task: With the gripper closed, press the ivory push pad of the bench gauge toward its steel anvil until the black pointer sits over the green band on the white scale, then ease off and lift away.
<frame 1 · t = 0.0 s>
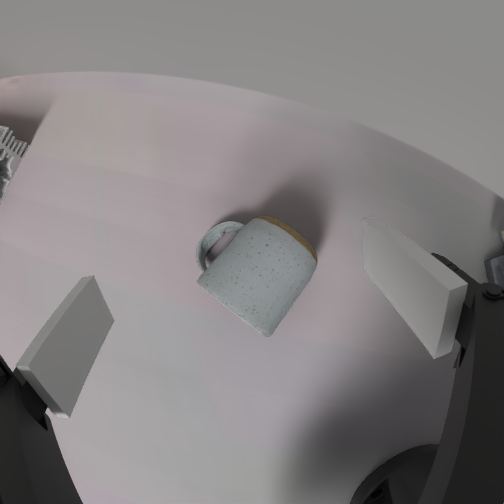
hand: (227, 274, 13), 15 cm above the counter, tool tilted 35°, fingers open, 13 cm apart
ceramic mug: (248, 274, 29), on the counter
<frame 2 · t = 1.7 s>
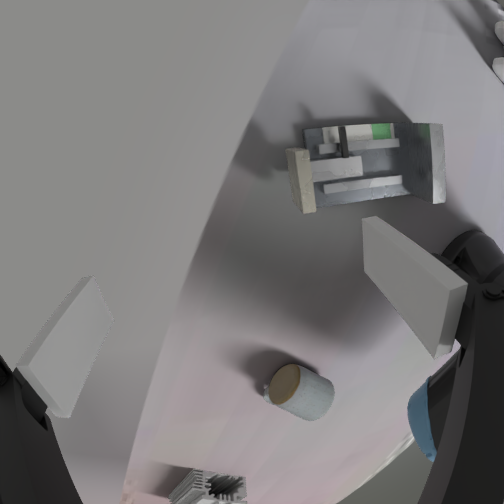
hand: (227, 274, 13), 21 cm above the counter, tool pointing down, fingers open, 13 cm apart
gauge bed: (366, 161, 32), on the counter
ceramic mug: (291, 379, 45), on the counter
aluminum extrusion profile: (202, 487, 64), on the counter
plunger: (331, 163, 27), point 5 cm above the counter, slide at 0.0 cm
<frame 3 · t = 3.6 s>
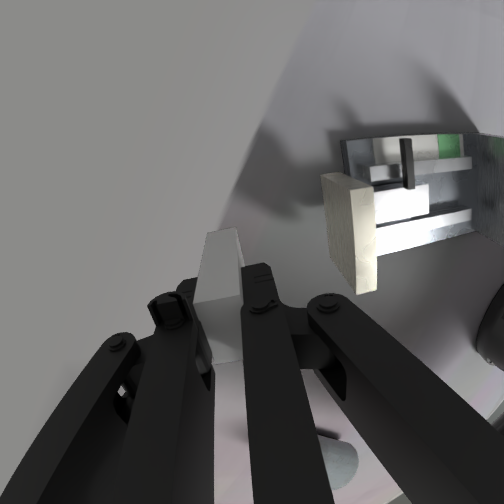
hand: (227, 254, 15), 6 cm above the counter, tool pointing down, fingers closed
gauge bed: (426, 187, 21), on the counter
ceramic mug: (308, 444, 34), on the counter
plunger: (393, 201, 16), point 5 cm above the counter, slide at 0.0 cm
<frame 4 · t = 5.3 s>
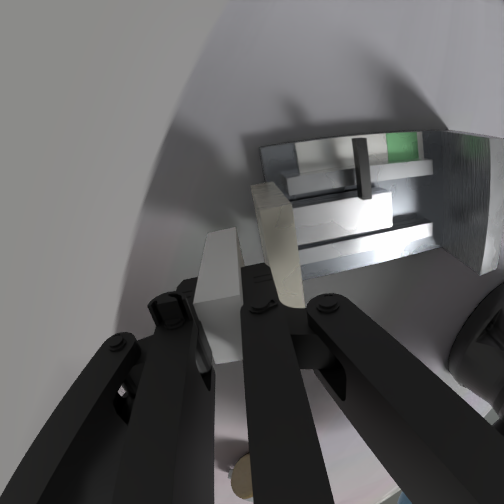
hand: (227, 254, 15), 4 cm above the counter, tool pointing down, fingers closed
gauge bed: (375, 196, 19), on the counter
ceramic mug: (262, 460, 33), on the counter
plunger: (339, 215, 14), point 5 cm above the counter, slide at 1.7 cm, touching gripper
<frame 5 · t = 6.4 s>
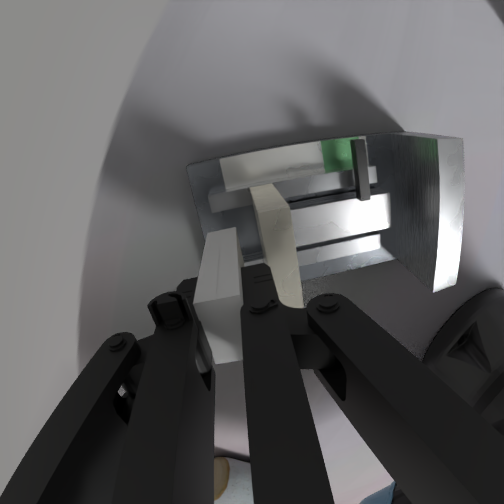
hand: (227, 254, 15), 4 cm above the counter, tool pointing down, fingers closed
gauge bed: (316, 208, 19), on the counter
ceramic mug: (231, 465, 33), on the counter
plunger: (338, 216, 15), point 5 cm above the counter, slide at 6.0 cm, touching gripper
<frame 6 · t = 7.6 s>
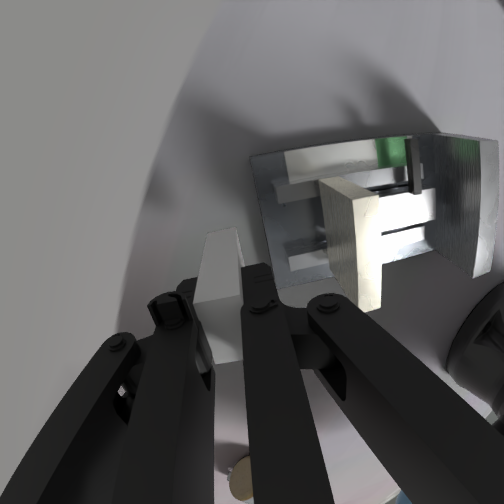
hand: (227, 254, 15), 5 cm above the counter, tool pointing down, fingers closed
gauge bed: (366, 202, 19), on the counter
ceramic mug: (260, 463, 33), on the counter
plunger: (399, 208, 15), point 5 cm above the counter, slide at 6.1 cm
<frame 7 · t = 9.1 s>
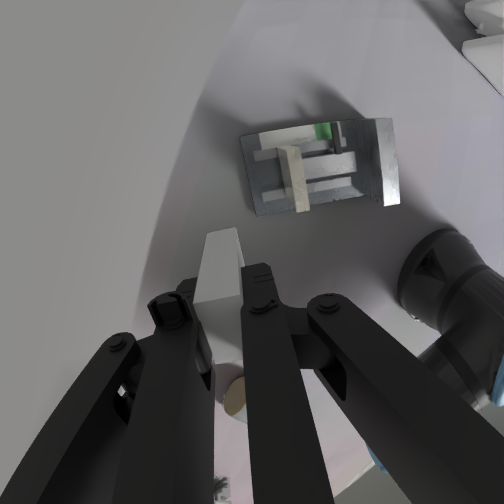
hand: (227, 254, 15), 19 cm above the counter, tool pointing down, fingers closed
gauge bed: (312, 163, 32), on the counter
cable organizer: (485, 53, 25), on the counter
ceramic mug: (249, 390, 46), on the counter
aluminum extrusion profile: (187, 486, 65), on the counter
plunger: (324, 160, 27), point 5 cm above the counter, slide at 6.1 cm
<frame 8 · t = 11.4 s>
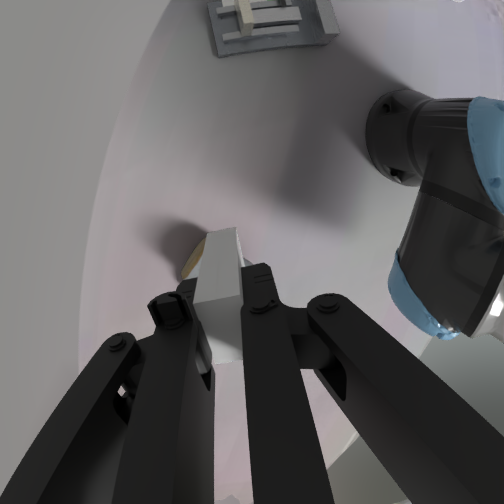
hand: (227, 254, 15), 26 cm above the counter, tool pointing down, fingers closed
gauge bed: (267, 22, 31), on the counter
ceramic mug: (214, 267, 45), on the counter
plunger: (269, 5, 26), point 5 cm above the counter, slide at 6.1 cm
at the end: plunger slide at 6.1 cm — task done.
